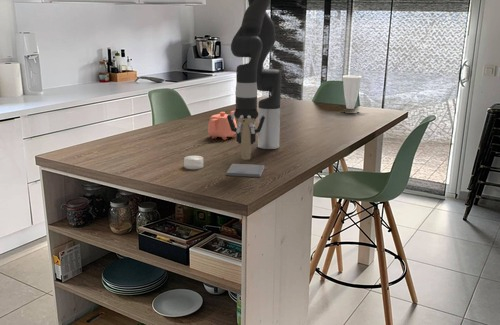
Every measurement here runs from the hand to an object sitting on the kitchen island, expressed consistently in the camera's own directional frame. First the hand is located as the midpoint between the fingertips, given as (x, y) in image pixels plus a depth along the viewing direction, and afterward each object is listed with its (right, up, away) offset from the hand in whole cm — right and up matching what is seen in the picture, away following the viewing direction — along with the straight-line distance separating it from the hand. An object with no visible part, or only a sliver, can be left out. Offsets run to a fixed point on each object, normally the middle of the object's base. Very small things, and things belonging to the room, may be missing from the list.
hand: (246, 143), depth 183 cm
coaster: (0, -10, +3) cm, 11 cm away
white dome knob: (-19, -9, +8) cm, 23 cm away
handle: (0, -6, +1) cm, 6 cm away
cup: (+62, +24, +129) cm, 145 cm away
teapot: (-11, +5, +58) cm, 59 cm away
